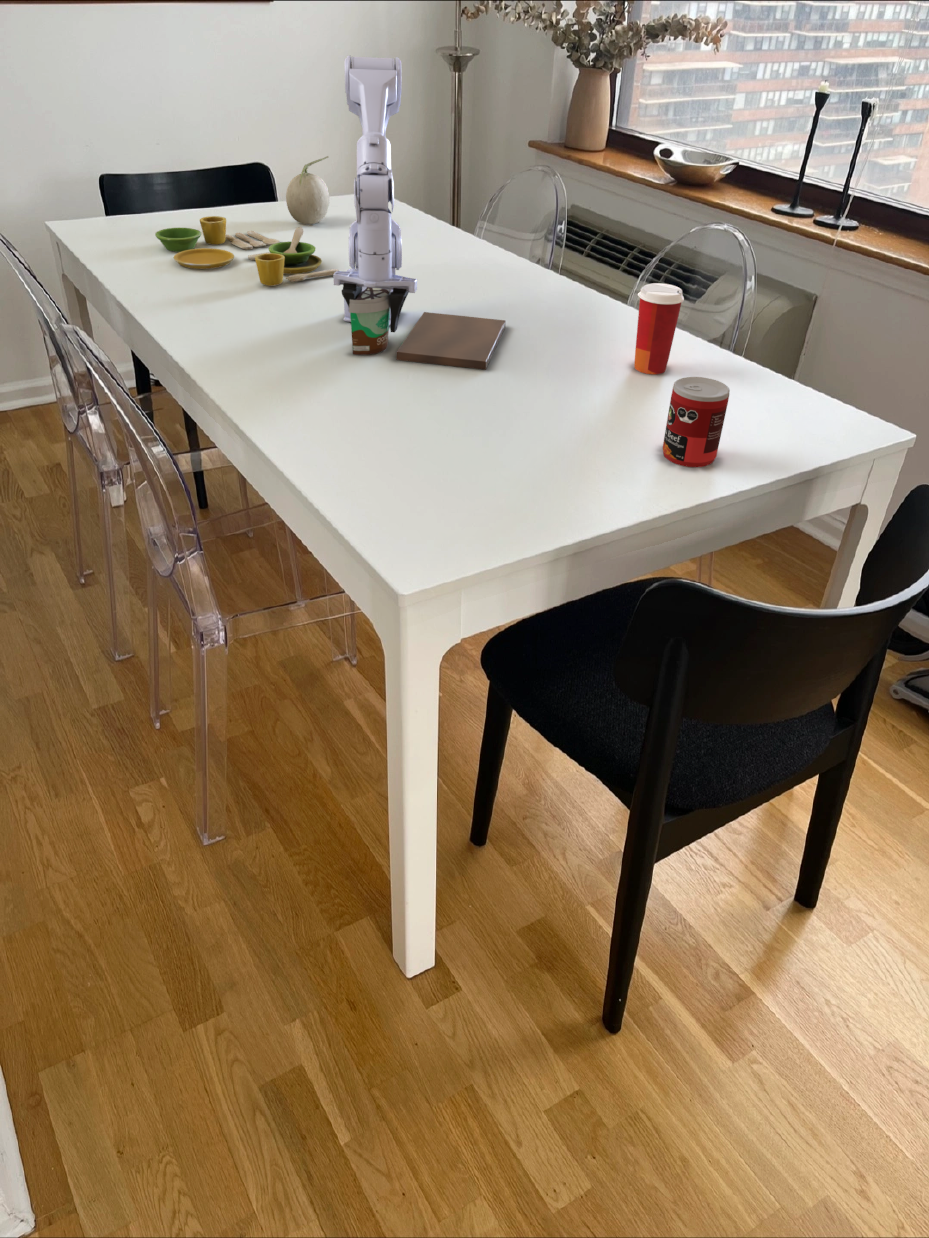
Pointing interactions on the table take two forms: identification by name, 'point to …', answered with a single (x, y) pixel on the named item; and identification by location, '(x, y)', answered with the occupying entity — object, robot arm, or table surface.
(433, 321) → the walnut board
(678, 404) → the canned food
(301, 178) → the fruit
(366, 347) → the food container
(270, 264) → the tableware set
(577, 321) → the table surface
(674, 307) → the paper cup
